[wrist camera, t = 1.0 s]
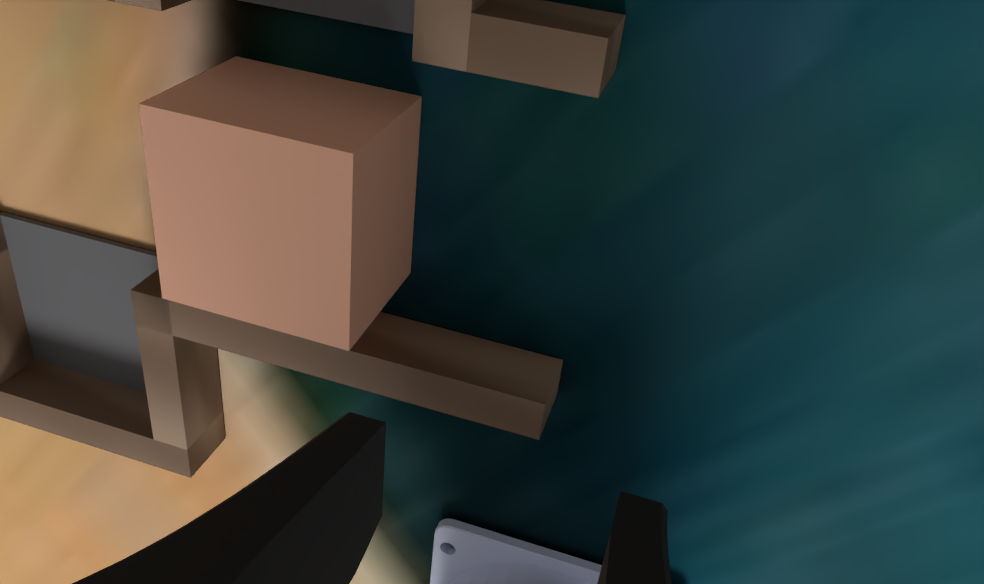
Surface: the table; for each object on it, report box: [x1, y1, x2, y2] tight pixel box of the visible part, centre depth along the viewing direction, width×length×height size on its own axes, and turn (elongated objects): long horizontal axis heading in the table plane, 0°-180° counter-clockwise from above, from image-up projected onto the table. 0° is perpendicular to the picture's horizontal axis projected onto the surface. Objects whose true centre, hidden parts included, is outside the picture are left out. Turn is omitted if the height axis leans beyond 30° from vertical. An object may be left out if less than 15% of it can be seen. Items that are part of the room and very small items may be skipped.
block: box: [139, 56, 422, 351], centre depth 21 cm, size 5×5×4 cm
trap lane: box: [0, 0, 626, 478], centre depth 23 cm, size 22×31×3 cm
